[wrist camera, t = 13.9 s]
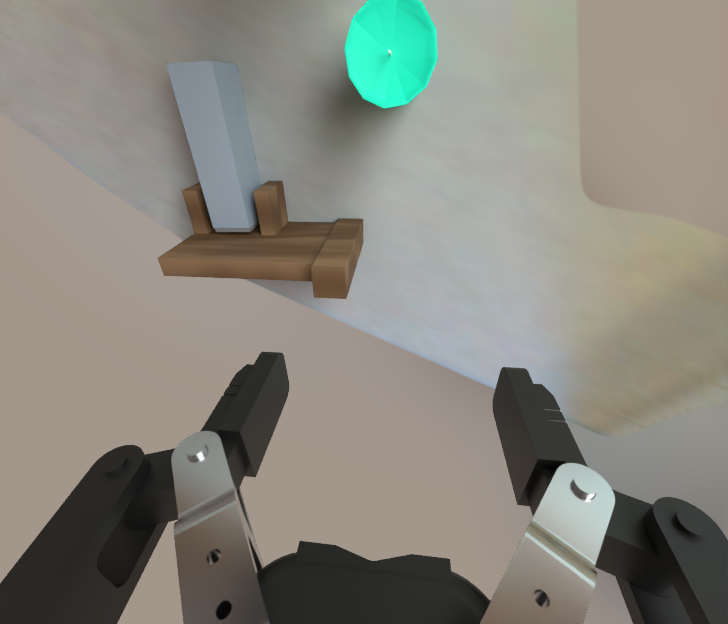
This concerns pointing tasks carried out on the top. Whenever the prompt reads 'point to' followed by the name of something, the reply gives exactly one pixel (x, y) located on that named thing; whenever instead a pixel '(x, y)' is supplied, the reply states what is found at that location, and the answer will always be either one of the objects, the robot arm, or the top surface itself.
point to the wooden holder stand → (269, 246)
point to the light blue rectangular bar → (218, 140)
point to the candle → (391, 51)
